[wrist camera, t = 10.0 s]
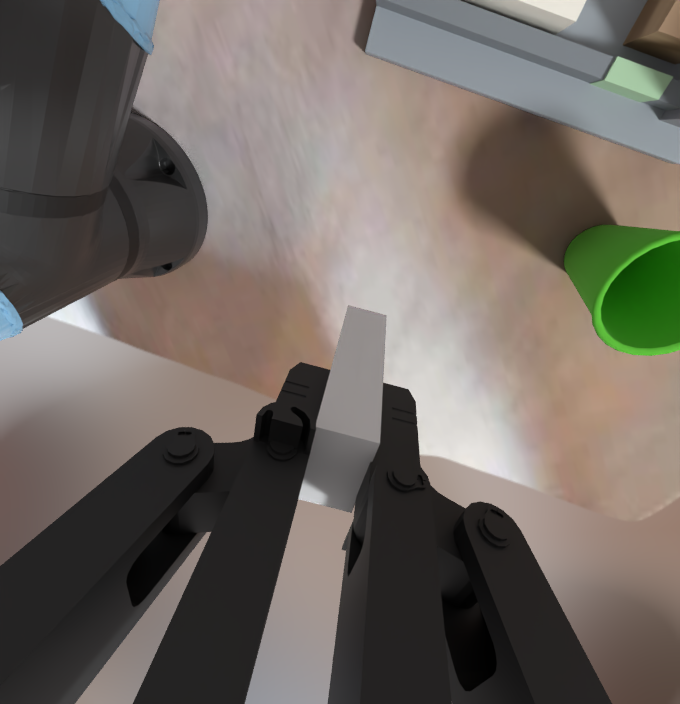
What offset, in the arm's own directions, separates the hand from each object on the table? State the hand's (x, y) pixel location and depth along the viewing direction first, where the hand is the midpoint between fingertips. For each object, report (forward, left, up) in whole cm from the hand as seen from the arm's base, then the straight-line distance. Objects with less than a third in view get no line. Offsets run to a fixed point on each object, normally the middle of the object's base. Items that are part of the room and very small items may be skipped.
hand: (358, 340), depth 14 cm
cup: (+20, +3, -24) cm, 31 cm away
